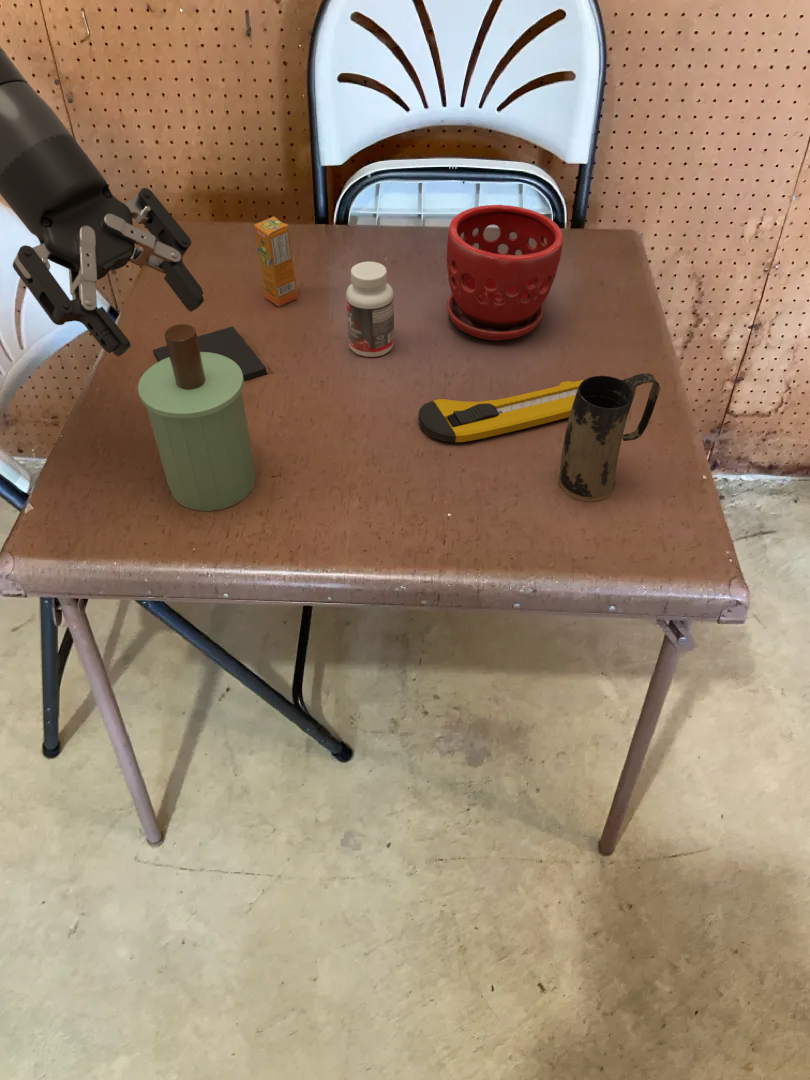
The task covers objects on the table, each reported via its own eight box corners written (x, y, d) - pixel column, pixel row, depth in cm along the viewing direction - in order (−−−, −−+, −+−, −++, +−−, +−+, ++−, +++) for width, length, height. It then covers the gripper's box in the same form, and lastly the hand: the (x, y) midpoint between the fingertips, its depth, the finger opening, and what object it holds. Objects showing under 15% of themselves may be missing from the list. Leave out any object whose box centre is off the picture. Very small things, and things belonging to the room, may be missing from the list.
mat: (183, 400, 92) (182, 394, 92) (154, 355, 98) (152, 349, 98) (267, 373, 96) (266, 367, 95) (233, 331, 102) (232, 325, 101)
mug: (568, 506, 81) (588, 406, 72) (548, 468, 85) (565, 369, 76) (644, 493, 82) (673, 393, 74) (621, 456, 86) (646, 358, 77)
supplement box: (261, 298, 107) (251, 222, 100) (284, 289, 109) (275, 214, 101) (277, 309, 105) (267, 233, 98) (299, 299, 107) (291, 223, 100)
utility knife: (411, 415, 91) (412, 400, 89) (595, 371, 96) (598, 356, 95) (436, 454, 86) (436, 439, 85) (626, 406, 92) (630, 391, 90)
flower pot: (480, 362, 98) (488, 267, 89) (424, 308, 105) (426, 216, 97) (572, 333, 102) (587, 239, 93) (512, 283, 110) (521, 192, 101)
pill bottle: (339, 344, 100) (334, 269, 93) (373, 327, 102) (371, 252, 95) (369, 364, 97) (366, 287, 90) (403, 346, 100) (403, 270, 93)
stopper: (160, 437, 71) (144, 376, 67) (127, 381, 77) (110, 321, 72) (261, 403, 74) (251, 343, 70) (222, 352, 80) (211, 293, 75)
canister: (187, 522, 80) (162, 427, 71) (158, 471, 85) (131, 376, 76) (269, 492, 82) (254, 397, 74) (236, 444, 87) (218, 349, 79)
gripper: (-35, 166, 61) (112, 351, 65) (114, 106, 69) (238, 274, 73) (-51, 217, 67) (85, 384, 71) (88, 156, 75) (204, 309, 79)
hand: (162, 328), depth 72 cm, fingers open, 8 cm apart
